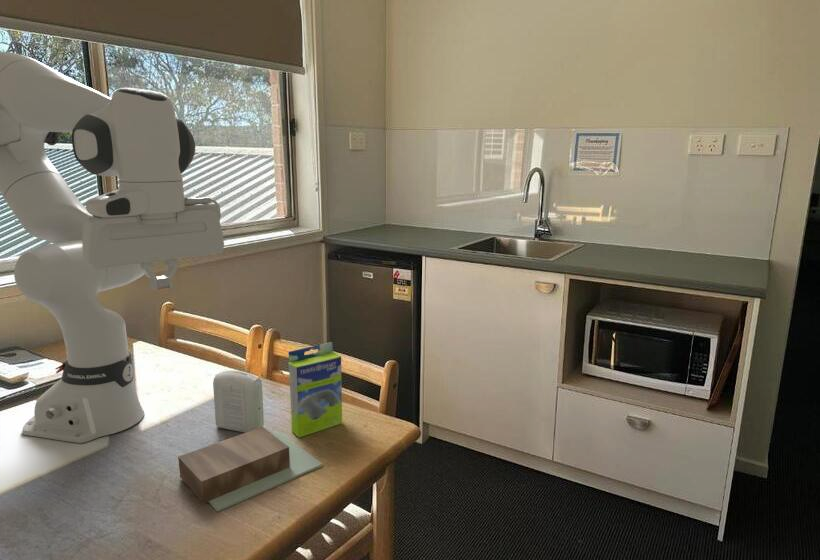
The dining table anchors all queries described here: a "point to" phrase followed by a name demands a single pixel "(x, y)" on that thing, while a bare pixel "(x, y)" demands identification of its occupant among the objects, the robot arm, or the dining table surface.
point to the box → (315, 389)
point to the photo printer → (238, 401)
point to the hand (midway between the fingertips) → (161, 288)
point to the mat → (271, 476)
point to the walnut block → (233, 463)
